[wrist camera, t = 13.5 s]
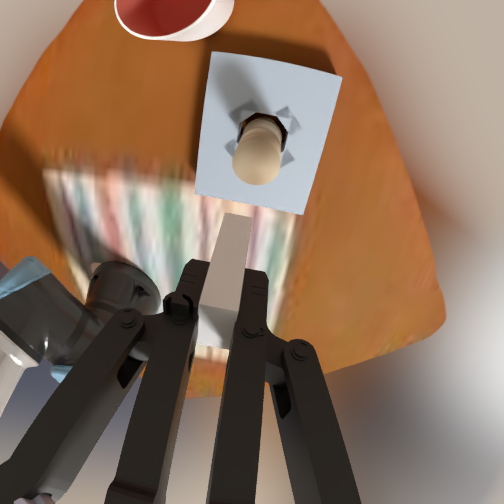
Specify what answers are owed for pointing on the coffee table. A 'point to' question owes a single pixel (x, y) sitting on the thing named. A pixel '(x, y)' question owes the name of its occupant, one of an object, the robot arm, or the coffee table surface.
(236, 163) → the peg
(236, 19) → the coffee table surface
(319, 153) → the board
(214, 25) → the cup
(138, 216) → the coffee table surface
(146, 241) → the coffee table surface
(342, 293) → the coffee table surface
